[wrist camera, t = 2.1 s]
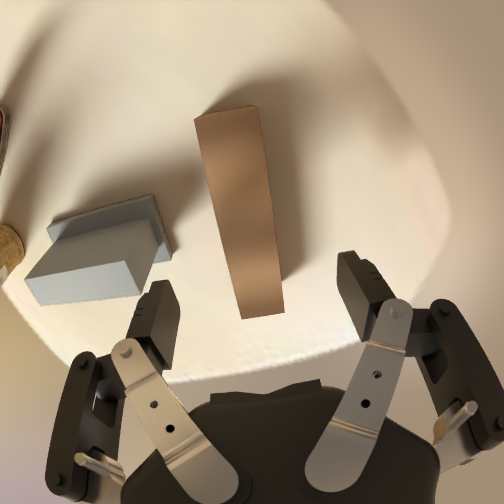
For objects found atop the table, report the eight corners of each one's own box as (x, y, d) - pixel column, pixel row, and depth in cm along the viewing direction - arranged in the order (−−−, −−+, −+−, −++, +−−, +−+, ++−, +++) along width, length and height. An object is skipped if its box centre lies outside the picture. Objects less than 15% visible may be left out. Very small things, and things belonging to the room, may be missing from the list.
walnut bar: (201, 114, 15) (193, 119, 12) (252, 105, 15) (257, 107, 12) (240, 288, 23) (241, 319, 20) (277, 282, 23) (284, 312, 20)
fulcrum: (50, 223, 18) (11, 265, 13) (153, 194, 17) (123, 237, 12) (74, 272, 20) (45, 319, 15) (172, 254, 20) (156, 310, 15)
